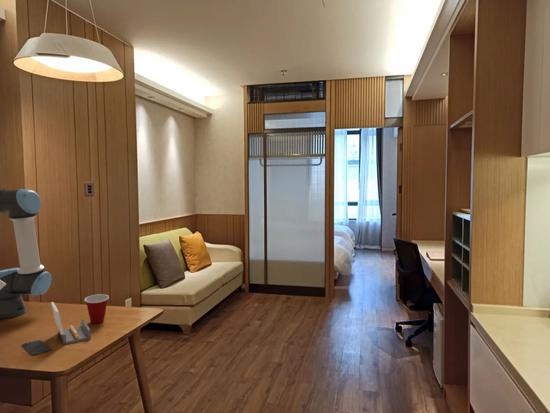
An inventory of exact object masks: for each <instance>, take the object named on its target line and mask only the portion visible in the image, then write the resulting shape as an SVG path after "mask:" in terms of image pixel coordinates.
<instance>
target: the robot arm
mask: <svg viewBox="0 0 550 413" xmlns="http://www.w3.org/2000/svg"><path fill="white" fill-rule="evenodd" d="M41 207H42V200H41V198H40V195H39V194H38V193H37V192H36V191H34V190H32V189H25V188H12V189H10V188H9V189H8V188H3V189H1V188H0V214H7V215H8V219H9V220H10V221H12V223H13V230H14V236H15V242H16V248H17V256H18V262H19V266H20V267H13V268H6V269H3V270H2V269H1V270H0V320H1V319H3V320H4V319H10V318H14V317H15V318H16V317H18V316H21V315H24V314H26V313H27V306H26V305H25V304H26V303H25V301H24V299H23V297H22V296H40V295H43V294H45V293H46V292H47V291H48V290H49V289H50V287H51V284H52V281H53V280H52V279H53V278H52V273H50V272H49V271H46V269H45V266H44V265H43V264H41V259H40V251H39V245H38V238H37V229H36V225H35V219H36V218H37V217H38V212H39V211H40V210H41Z"/></svg>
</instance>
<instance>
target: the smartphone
mask: <svg viewBox="0 0 550 413" xmlns="http://www.w3.org/2000/svg"><path fill="white" fill-rule="evenodd" d="M21 348H23V350H25V352H26V353H28V354H29V355H30V356H31V357H34V356H37V355H42V354H44V353H48V352H52V350H53V348H52V347H50V346H49V345H48V344H47V343H46V342H44V341H43V340H41V339H38V340H33V341H29V342H25V343H23V344H21Z"/></svg>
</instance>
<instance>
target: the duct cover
mask: <svg viewBox="0 0 550 413" xmlns="http://www.w3.org/2000/svg"><path fill="white" fill-rule="evenodd" d="M50 305H51V309H52V313H53V317H54V321H55V325H56V326H57V329H58V332H59V331H60V333H61V335H62V334H64V332H63V330H64V328H63V325H62V319H61V315H60V311H59V309H58V307H57V306H56V304H55V302H54V301H52V302H50Z"/></svg>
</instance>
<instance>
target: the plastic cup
mask: <svg viewBox="0 0 550 413" xmlns="http://www.w3.org/2000/svg"><path fill="white" fill-rule="evenodd" d="M109 296H110V295H108V294H103V293H100V294H92V295H88V296H86V297H85V298H84V302H85V305H86V307H87V312H88V317H89V320H90V323H91V324H94V325H95V324H100V323H103V322H104V321H105V316H106V311H107V305H108V302H109V301H108V300H109V299H110V297H109Z"/></svg>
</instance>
